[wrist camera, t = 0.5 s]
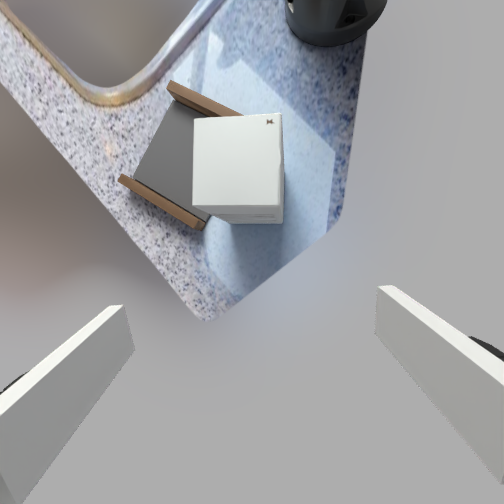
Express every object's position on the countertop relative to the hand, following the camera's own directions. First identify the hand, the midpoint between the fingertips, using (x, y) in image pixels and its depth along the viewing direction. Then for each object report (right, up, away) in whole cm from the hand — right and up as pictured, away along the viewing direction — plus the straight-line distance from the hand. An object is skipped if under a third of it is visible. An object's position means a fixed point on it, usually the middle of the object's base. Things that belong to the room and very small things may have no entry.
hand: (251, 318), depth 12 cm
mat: (-10, +19, +28) cm, 35 cm away
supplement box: (+1, +12, +25) cm, 28 cm away
